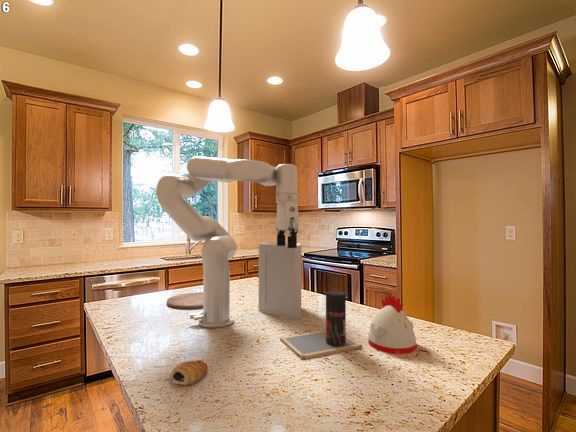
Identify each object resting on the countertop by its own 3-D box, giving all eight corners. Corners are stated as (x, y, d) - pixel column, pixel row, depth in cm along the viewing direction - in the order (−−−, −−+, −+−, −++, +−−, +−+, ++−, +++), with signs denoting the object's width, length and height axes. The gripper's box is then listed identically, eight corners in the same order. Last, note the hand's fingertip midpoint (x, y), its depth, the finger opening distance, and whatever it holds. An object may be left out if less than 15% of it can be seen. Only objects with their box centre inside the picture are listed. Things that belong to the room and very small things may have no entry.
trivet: (155, 304, 144) (155, 300, 144) (199, 293, 165) (199, 290, 165) (191, 313, 130) (191, 308, 130) (234, 300, 151) (234, 296, 151)
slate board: (301, 359, 87) (301, 356, 87) (280, 340, 101) (280, 337, 101) (361, 347, 95) (361, 344, 95) (334, 331, 109) (334, 329, 109)
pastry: (193, 366, 83) (193, 351, 83) (214, 371, 80) (215, 356, 80) (166, 383, 75) (166, 366, 75) (189, 389, 72) (189, 372, 72)
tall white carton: (315, 310, 134) (315, 243, 134) (294, 319, 122) (294, 245, 122) (279, 303, 145) (280, 241, 146) (257, 310, 134) (257, 243, 134)
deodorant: (345, 347, 93) (345, 295, 93) (324, 345, 95) (324, 294, 95) (345, 339, 99) (345, 291, 99) (326, 338, 100) (326, 290, 100)
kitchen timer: (391, 357, 88) (391, 303, 88) (359, 341, 100) (359, 293, 101) (426, 348, 95) (426, 297, 95) (391, 333, 107) (391, 288, 107)
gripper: (306, 197, 108) (306, 248, 108) (286, 200, 124) (286, 244, 124) (286, 197, 105) (286, 249, 105) (268, 200, 121) (268, 245, 121)
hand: (286, 246), depth 114 cm, fingers open, 9 cm apart
